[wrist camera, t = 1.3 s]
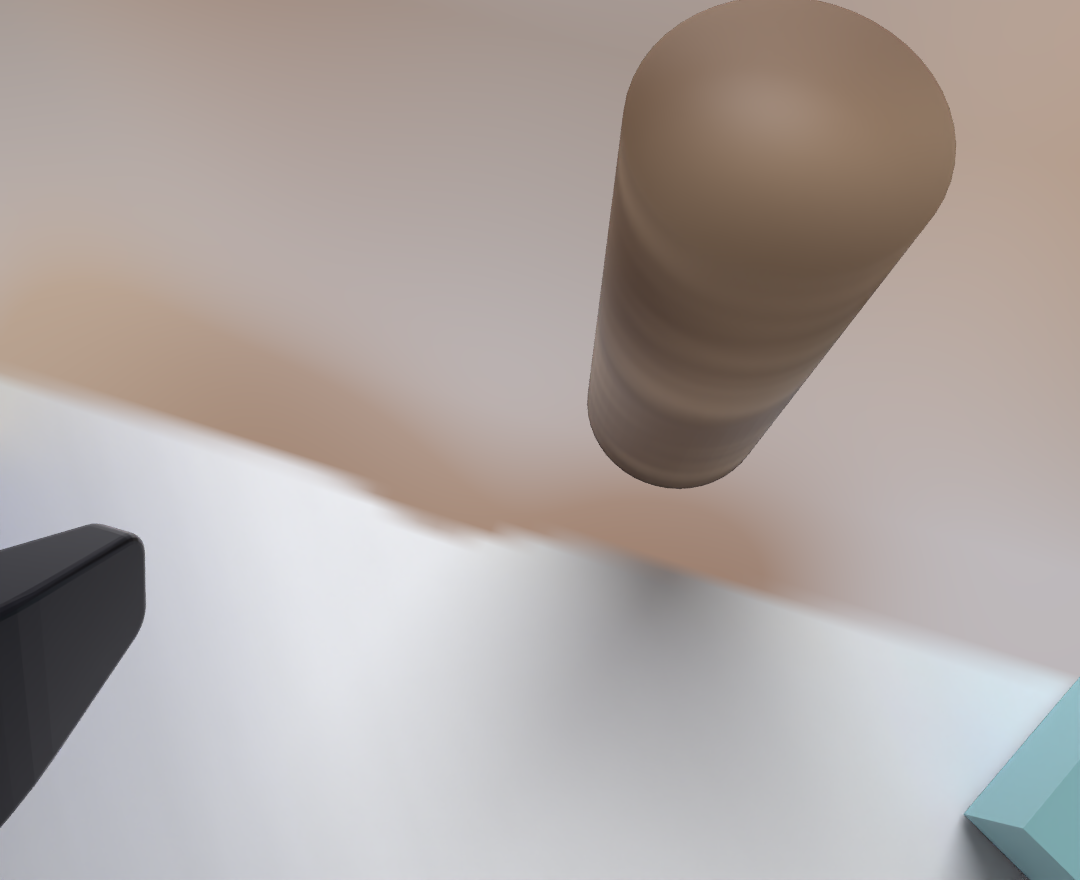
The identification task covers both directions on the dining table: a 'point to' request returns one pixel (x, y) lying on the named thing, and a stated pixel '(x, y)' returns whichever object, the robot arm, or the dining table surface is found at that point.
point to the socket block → (1039, 798)
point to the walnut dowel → (753, 223)
